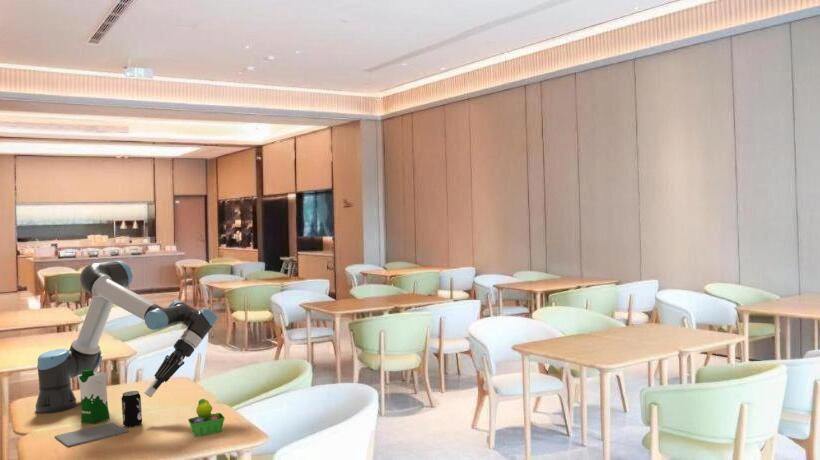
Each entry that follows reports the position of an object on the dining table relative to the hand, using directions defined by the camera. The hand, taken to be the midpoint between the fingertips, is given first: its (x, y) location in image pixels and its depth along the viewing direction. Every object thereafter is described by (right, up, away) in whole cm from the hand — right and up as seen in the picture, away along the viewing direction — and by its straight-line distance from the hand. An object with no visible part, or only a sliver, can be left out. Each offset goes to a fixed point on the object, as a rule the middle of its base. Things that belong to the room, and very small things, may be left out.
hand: (147, 395), depth 257 cm
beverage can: (-4, -10, -4) cm, 12 cm away
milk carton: (-22, -11, +5) cm, 25 cm away
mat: (-15, -11, -13) cm, 23 cm away
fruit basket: (+28, -9, -17) cm, 34 cm away
